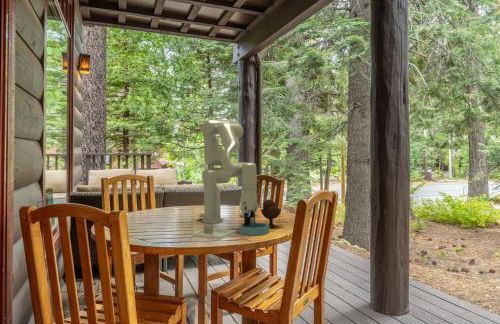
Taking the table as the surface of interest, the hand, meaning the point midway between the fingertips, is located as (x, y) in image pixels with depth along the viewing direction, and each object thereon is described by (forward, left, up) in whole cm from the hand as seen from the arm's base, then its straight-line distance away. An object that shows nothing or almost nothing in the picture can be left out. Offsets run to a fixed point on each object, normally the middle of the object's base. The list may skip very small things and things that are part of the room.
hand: (249, 223), depth 179 cm
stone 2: (0, 0, -1) cm, 1 cm away
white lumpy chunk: (-23, +43, -5) cm, 49 cm away
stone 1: (-16, -13, -4) cm, 21 cm away
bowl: (+2, 0, -5) cm, 5 cm away
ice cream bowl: (+3, +18, -5) cm, 19 cm away
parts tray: (-13, -13, -5) cm, 19 cm away
